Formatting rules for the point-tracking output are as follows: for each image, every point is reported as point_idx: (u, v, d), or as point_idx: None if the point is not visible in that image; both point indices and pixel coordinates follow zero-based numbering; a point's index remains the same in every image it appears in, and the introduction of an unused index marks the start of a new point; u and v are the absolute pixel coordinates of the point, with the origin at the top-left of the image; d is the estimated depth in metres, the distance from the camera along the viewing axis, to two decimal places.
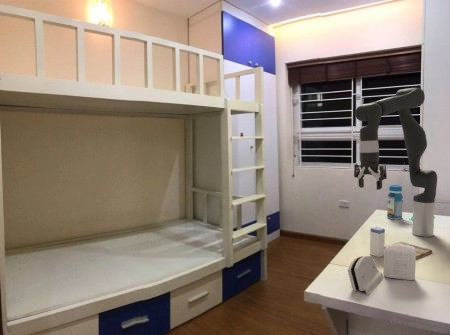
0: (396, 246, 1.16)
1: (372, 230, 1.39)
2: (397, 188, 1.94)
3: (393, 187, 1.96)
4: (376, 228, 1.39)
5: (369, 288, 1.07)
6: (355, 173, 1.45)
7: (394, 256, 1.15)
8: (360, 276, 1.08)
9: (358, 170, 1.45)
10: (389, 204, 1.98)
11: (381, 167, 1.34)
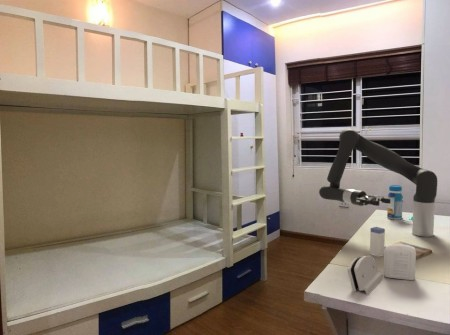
0: (396, 246, 1.16)
1: (372, 230, 1.39)
2: (397, 188, 1.94)
3: (393, 187, 1.96)
4: (376, 228, 1.39)
5: (369, 288, 1.07)
6: None
7: (394, 256, 1.15)
8: (360, 276, 1.08)
9: None
10: (389, 204, 1.98)
11: (357, 203, 1.56)
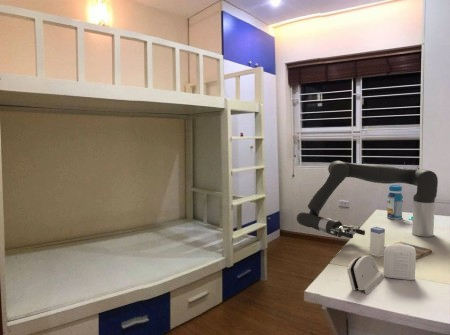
0: (396, 246, 1.16)
1: (372, 230, 1.39)
2: (397, 188, 1.94)
3: (393, 187, 1.96)
4: (376, 228, 1.39)
5: (369, 288, 1.08)
6: None
7: (394, 256, 1.15)
8: (359, 275, 1.08)
9: None
10: (389, 204, 1.98)
11: None
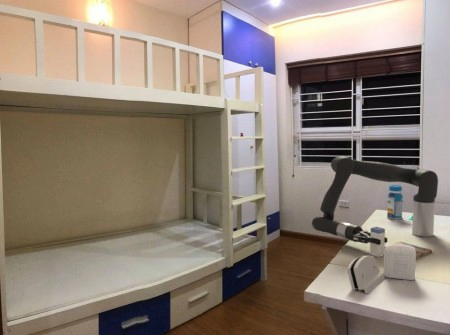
0: (396, 246, 1.16)
1: (372, 230, 1.39)
2: (397, 188, 1.94)
3: (393, 187, 1.96)
4: (376, 228, 1.39)
5: (369, 287, 1.08)
6: None
7: (394, 256, 1.15)
8: (359, 275, 1.08)
9: None
10: (389, 204, 1.98)
11: (355, 241, 1.42)
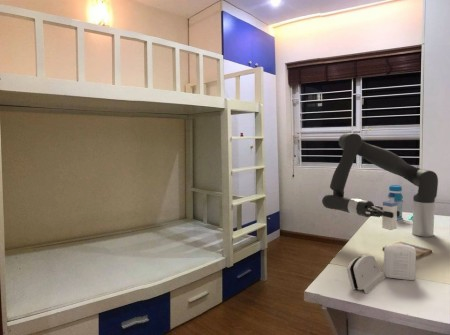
0: (396, 246, 1.16)
1: (384, 204, 1.39)
2: (397, 188, 1.94)
3: (393, 187, 1.96)
4: (388, 202, 1.39)
5: (368, 287, 1.08)
6: None
7: (394, 256, 1.15)
8: (359, 275, 1.08)
9: None
10: None
11: (367, 215, 1.42)
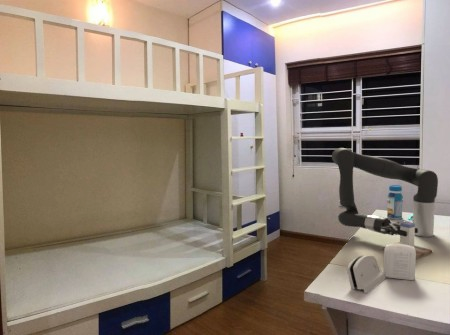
0: (396, 246, 1.16)
1: (402, 225, 1.42)
2: (397, 188, 1.94)
3: (393, 187, 1.96)
4: (406, 223, 1.42)
5: (368, 287, 1.08)
6: None
7: (394, 256, 1.15)
8: (359, 275, 1.09)
9: None
10: (389, 204, 1.98)
11: (382, 232, 1.46)
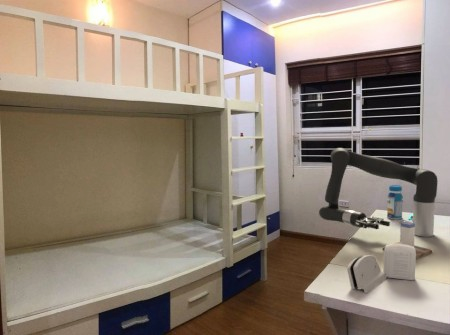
0: (396, 246, 1.16)
1: (402, 225, 1.42)
2: (397, 188, 1.94)
3: (393, 187, 1.96)
4: (406, 223, 1.42)
5: (368, 287, 1.08)
6: None
7: (394, 256, 1.15)
8: (359, 274, 1.09)
9: None
10: (389, 204, 1.98)
11: (357, 225, 1.57)
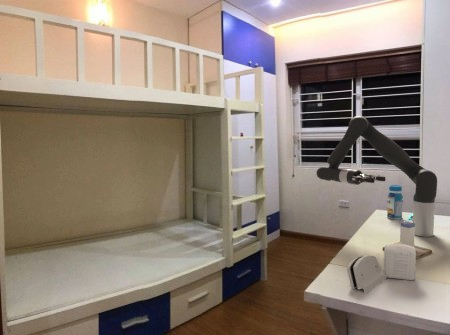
0: (396, 246, 1.16)
1: (402, 225, 1.42)
2: (397, 188, 1.94)
3: (393, 187, 1.96)
4: (406, 223, 1.42)
5: (368, 287, 1.08)
6: None
7: (394, 256, 1.15)
8: (359, 274, 1.09)
9: (372, 177, 1.64)
10: (389, 204, 1.98)
11: (353, 181, 1.59)
